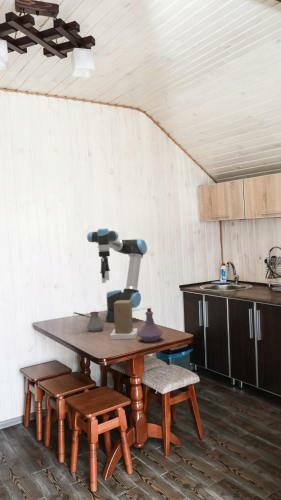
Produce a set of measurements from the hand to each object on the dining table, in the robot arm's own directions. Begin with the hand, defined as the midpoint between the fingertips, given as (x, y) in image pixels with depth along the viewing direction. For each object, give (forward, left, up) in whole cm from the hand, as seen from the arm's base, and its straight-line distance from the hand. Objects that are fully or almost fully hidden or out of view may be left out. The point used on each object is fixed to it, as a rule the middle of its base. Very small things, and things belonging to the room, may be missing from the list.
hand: (105, 281), depth 300 cm
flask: (+27, +31, -35) cm, 54 cm away
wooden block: (+15, +13, -32) cm, 38 cm away
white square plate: (+15, +13, -35) cm, 40 cm away
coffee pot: (-1, -14, -35) cm, 38 cm away
